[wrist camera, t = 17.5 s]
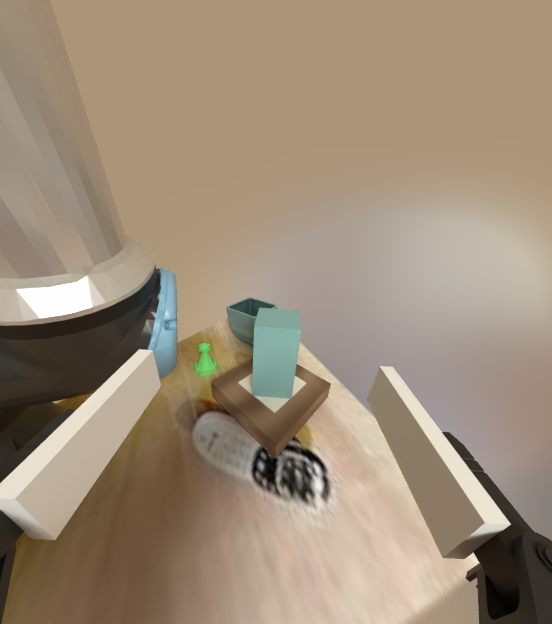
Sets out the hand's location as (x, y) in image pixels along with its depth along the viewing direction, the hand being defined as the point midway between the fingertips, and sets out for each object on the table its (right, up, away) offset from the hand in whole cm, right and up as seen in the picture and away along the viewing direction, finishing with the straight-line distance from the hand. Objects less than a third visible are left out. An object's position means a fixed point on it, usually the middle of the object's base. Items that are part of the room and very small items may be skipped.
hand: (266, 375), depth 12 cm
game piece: (-13, -8, +28) cm, 32 cm away
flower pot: (-6, -3, +39) cm, 39 cm away
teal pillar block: (0, -8, +21) cm, 23 cm away
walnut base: (0, -11, +23) cm, 25 cm away
